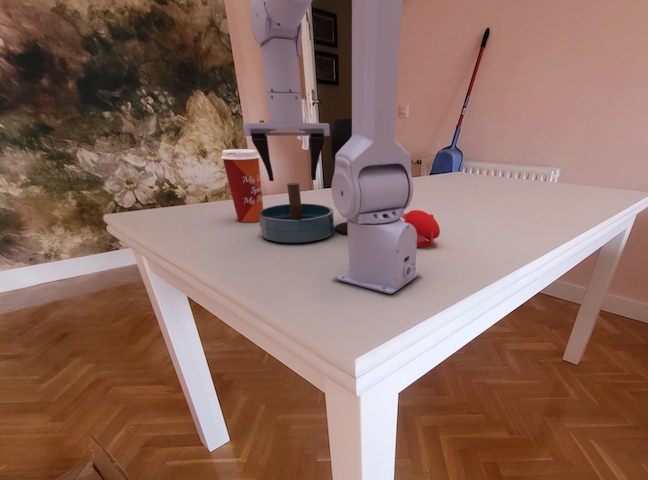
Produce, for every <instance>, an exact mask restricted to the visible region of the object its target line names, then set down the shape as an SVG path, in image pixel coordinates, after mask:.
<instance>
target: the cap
mask: <svg viewBox="0 0 648 480" xmlns="http://www.w3.org/2000/svg"><path fill="white" fill-rule="evenodd" d="M401 219H403V222H405V223H409V224H411V225H413V226H414V227H415V229H416V233H417V247H420V248H421V247H429V246H430V247H431V246H432V245H433V244H434V242H435V239H438V238H439V237H440V234H441V228H440V226H439V223H438V222H437V220H436V219H435V216H434V214H429V213H428V212H426V211H423V210H420V209H413V210H410V211H408V212H407V213H404V217H401ZM425 240H426V241H425ZM427 240H428V241H427Z"/></svg>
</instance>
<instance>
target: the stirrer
mask: <svg viewBox="0 0 648 480" xmlns="http://www.w3.org/2000/svg"><path fill="white" fill-rule="evenodd" d="M286 186H287V194H288V204H290V213H291V220H300V219H303V217H302V207H301V203H302V198H301V188H300V183H299V182H289V183H287V184H286Z"/></svg>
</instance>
